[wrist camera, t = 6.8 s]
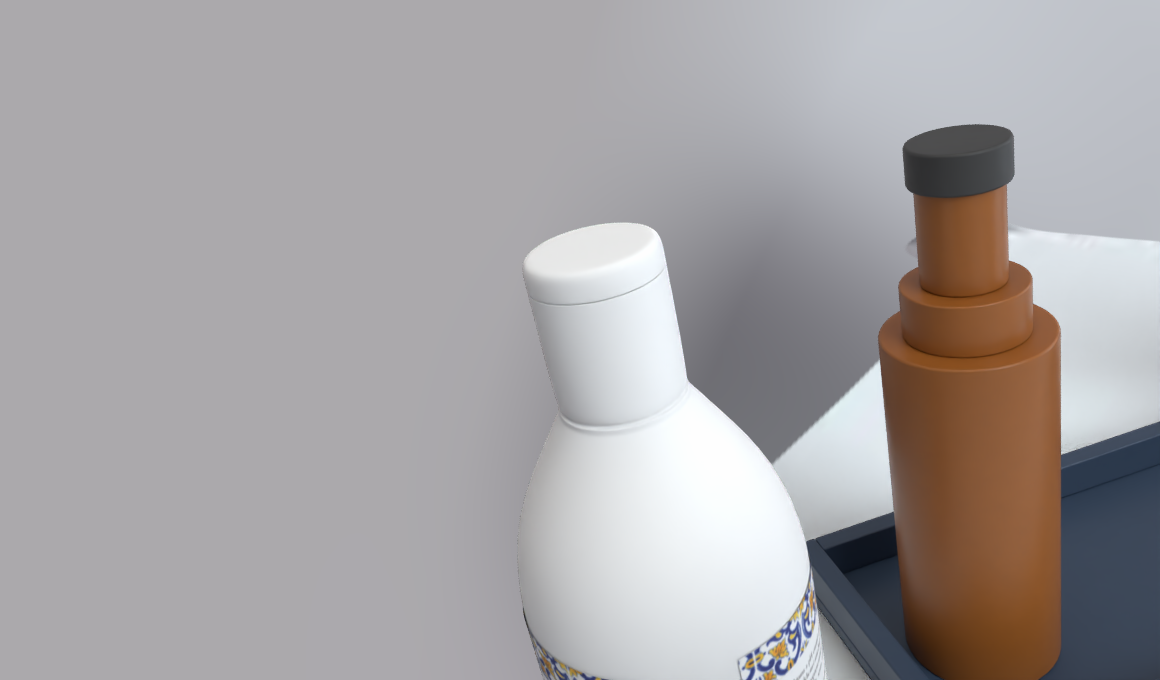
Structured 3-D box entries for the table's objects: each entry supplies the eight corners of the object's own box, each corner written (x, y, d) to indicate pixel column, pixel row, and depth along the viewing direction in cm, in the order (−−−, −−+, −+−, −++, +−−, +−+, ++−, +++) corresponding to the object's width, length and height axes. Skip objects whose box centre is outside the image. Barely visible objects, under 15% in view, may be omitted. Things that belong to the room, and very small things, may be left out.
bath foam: (814, 760, 31) (720, 166, 22) (895, 979, 24) (806, 263, 16) (605, 806, 31) (435, 232, 22) (631, 1036, 24) (409, 355, 16)
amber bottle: (893, 675, 32) (843, 175, 25) (917, 578, 36) (879, 121, 29) (1057, 705, 30) (1056, 161, 22) (1064, 598, 34) (1064, 104, 26)
